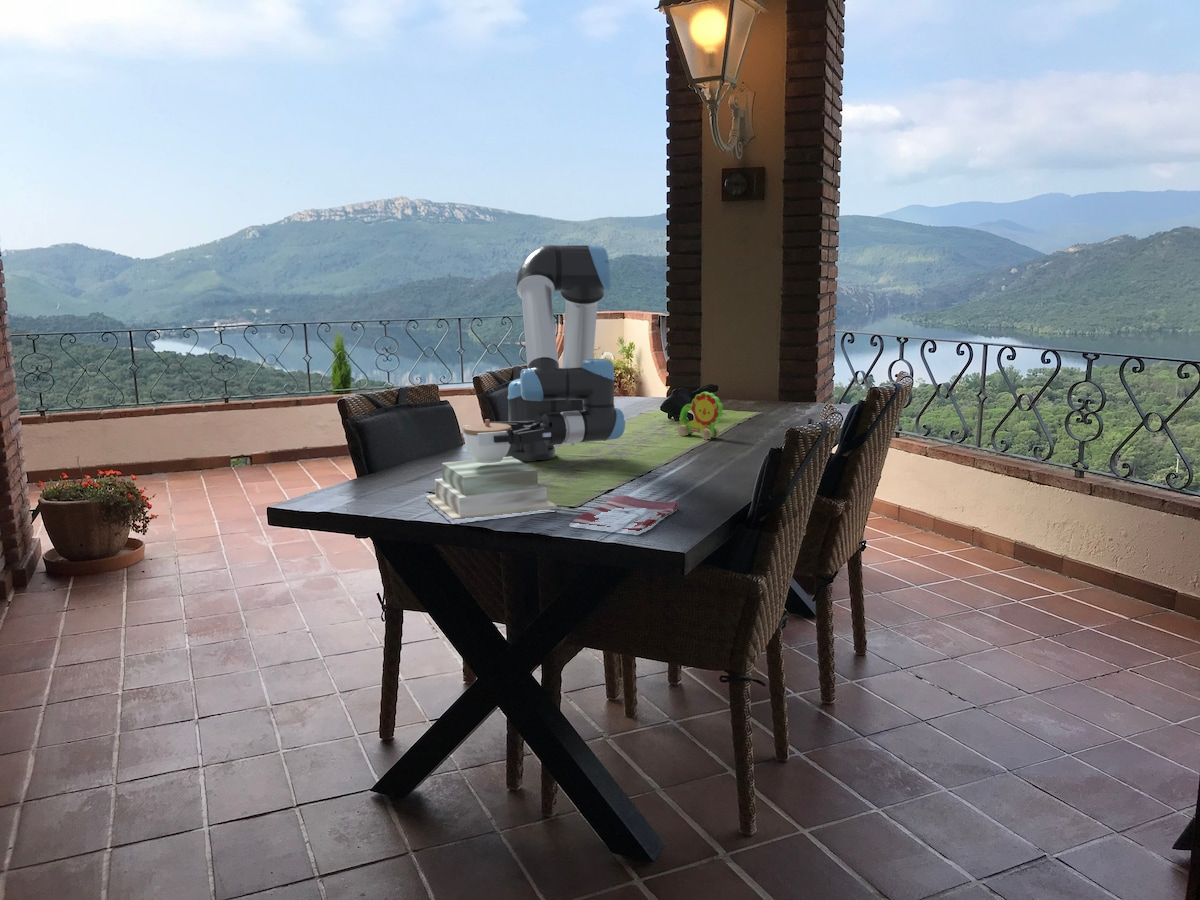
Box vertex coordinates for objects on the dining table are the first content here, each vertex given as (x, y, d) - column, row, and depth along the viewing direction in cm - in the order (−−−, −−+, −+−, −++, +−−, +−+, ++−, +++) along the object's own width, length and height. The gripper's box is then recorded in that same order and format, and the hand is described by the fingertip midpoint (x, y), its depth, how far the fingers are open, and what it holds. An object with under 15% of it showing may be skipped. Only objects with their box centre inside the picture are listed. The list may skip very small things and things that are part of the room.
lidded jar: (473, 467, 192) (472, 424, 191) (458, 458, 202) (456, 418, 200) (519, 462, 197) (518, 421, 195) (502, 454, 207) (501, 414, 205)
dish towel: (680, 512, 199) (680, 500, 198) (640, 539, 178) (640, 526, 178) (612, 504, 206) (612, 493, 205) (566, 529, 185) (566, 517, 185)
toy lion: (676, 435, 292) (676, 390, 289) (686, 433, 296) (686, 388, 293) (715, 441, 282) (716, 394, 279) (725, 439, 285) (726, 392, 283)
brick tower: (426, 501, 206) (424, 462, 204) (522, 491, 216) (521, 453, 215) (452, 525, 187) (451, 481, 185) (556, 512, 197) (556, 470, 195)
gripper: (581, 452, 196) (487, 461, 187) (542, 436, 217) (456, 443, 208) (581, 419, 195) (486, 426, 186) (542, 405, 215) (455, 411, 206)
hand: (470, 435), depth 197 cm, fingers closed on lidded jar, 11 cm apart
